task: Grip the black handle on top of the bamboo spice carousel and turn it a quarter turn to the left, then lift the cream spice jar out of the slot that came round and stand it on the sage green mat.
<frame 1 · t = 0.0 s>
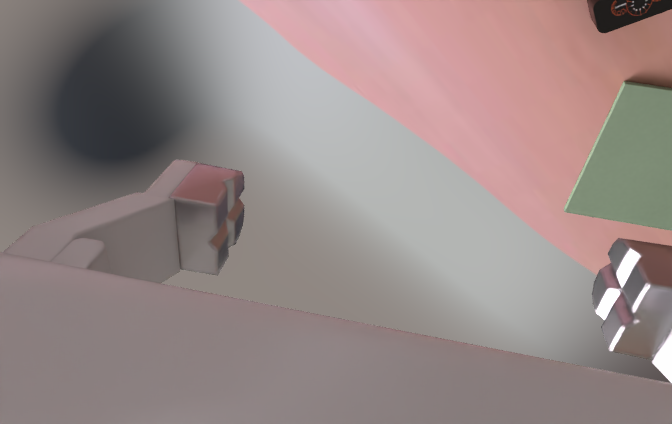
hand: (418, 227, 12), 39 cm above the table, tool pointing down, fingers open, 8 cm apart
sage mat: (669, 163, 51), on the table
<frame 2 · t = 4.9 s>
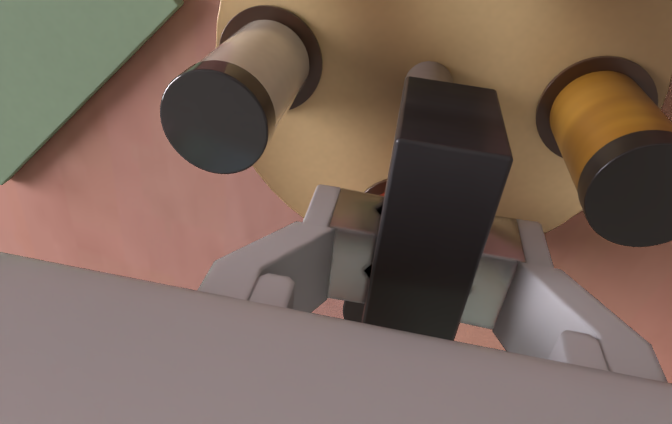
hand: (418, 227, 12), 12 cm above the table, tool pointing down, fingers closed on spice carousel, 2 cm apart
spice carousel: (424, 147, 15), point 8 cm above the table, hinge at 0.0°, touching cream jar, gripper
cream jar: (269, 61, 20), point 2 cm above the table, touching spice carousel
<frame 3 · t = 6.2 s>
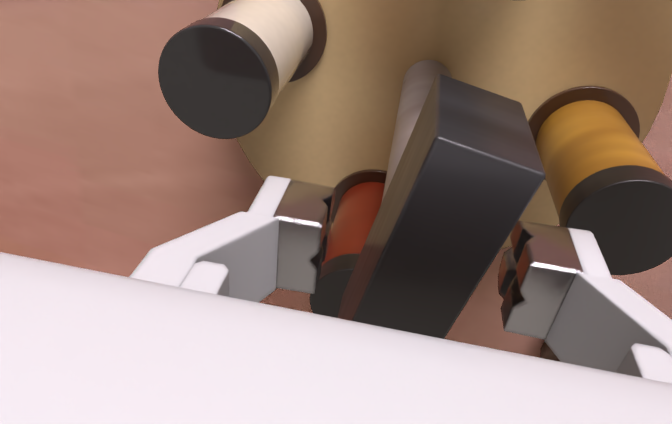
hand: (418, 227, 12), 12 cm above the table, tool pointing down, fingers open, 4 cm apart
spice carousel: (423, 146, 15), point 8 cm above the table, hinge at 79.0°, touching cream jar
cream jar: (271, 30, 19), point 2 cm above the table, touching spice carousel
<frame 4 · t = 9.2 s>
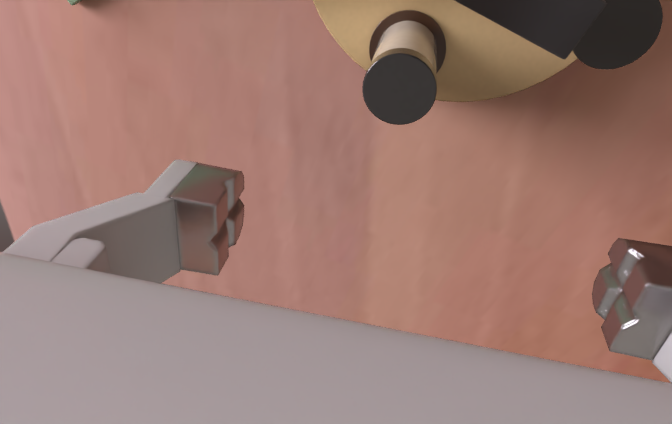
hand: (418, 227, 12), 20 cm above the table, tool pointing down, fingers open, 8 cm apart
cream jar: (407, 50, 27), point 2 cm above the table, touching spice carousel
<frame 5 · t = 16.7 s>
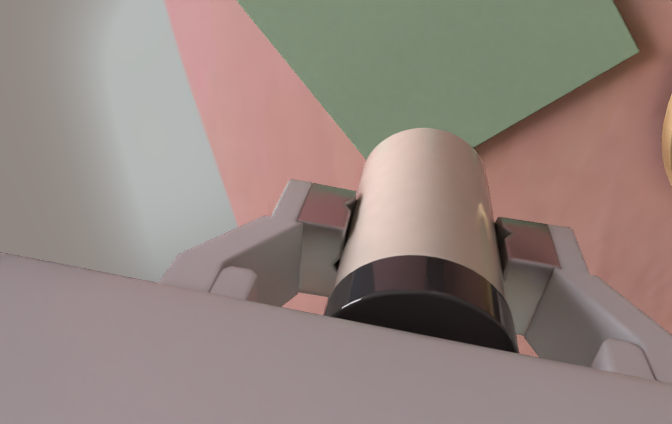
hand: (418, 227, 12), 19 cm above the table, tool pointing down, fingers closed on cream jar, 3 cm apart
sage mat: (427, 17, 27), on the table
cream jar: (422, 183, 13), point 17 cm above the table, touching gripper
when the fingers open (2 cm above the table, at t = 21.4 s): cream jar stays where it is, resting on sage mat.
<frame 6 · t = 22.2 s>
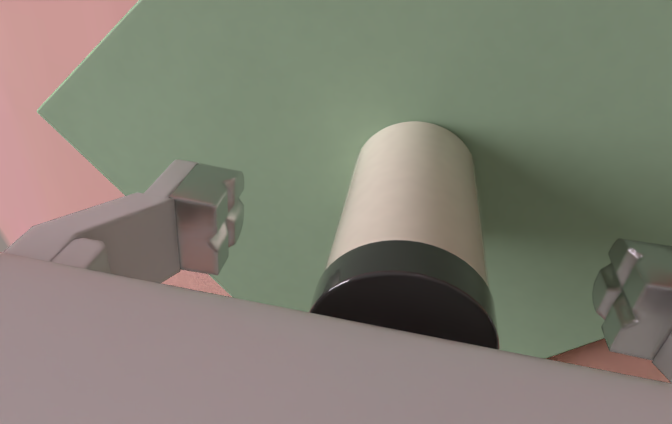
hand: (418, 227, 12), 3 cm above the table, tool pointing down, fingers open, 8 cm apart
sage mat: (419, 166, 14), on the table
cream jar: (413, 175, 14), point 1 cm above the table, touching sage mat
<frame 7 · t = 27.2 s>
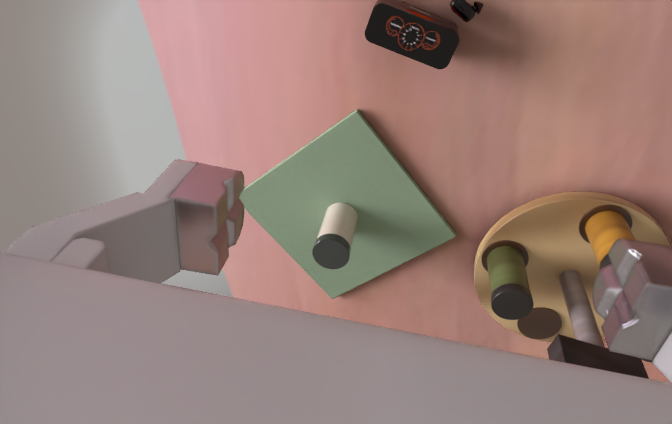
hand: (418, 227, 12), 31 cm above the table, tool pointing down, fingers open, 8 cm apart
sage mat: (343, 213, 49), on the table
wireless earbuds: (426, 18, 39), on the table
spice carousel: (582, 320, 42), point 8 cm above the table, hinge at 82.2°
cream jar: (341, 216, 49), point 1 cm above the table, touching sage mat
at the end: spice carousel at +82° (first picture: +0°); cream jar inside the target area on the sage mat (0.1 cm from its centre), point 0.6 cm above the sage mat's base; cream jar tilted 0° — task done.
